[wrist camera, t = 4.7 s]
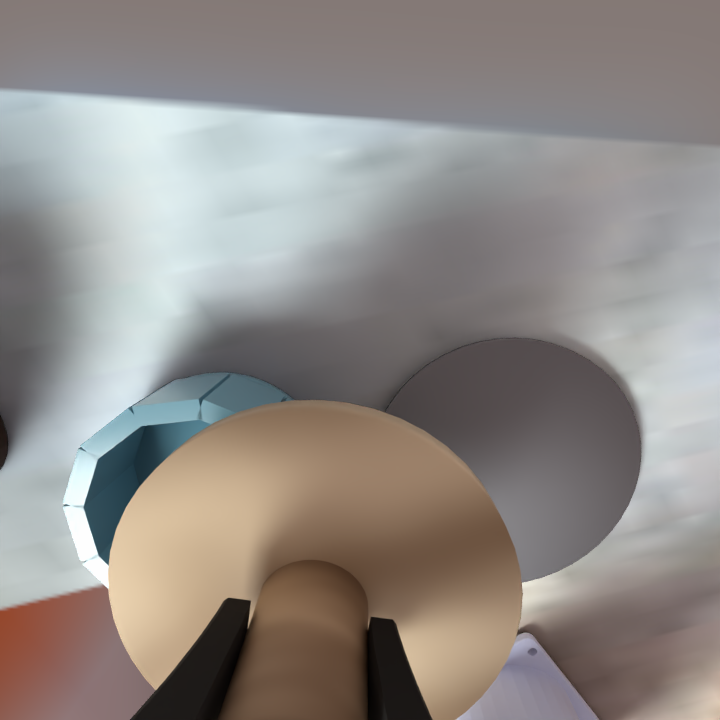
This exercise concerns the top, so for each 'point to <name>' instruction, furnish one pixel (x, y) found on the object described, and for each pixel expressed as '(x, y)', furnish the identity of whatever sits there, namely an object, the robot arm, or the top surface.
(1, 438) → the coffee mug
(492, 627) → the oak lid
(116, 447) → the teal bowl
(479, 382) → the rubber mat
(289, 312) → the top surface
